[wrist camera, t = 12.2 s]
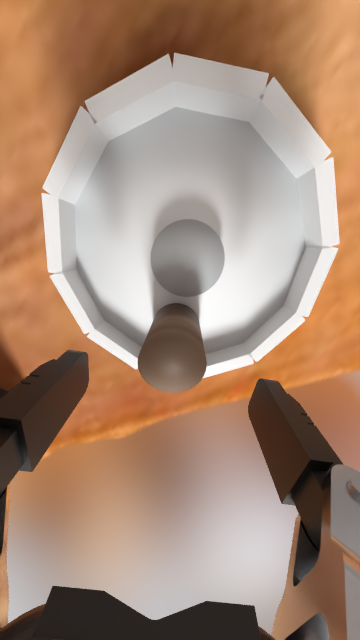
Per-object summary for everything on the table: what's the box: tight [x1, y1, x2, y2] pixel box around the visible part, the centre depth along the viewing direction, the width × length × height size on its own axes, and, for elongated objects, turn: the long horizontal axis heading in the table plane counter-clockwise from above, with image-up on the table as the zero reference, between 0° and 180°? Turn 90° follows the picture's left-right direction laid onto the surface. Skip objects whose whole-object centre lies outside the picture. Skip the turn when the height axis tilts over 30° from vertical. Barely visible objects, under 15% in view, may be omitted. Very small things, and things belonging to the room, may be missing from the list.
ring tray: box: [42, 53, 339, 378], centre depth 14 cm, size 19×19×2 cm
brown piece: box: [138, 303, 207, 393], centre depth 14 cm, size 4×4×6 cm
